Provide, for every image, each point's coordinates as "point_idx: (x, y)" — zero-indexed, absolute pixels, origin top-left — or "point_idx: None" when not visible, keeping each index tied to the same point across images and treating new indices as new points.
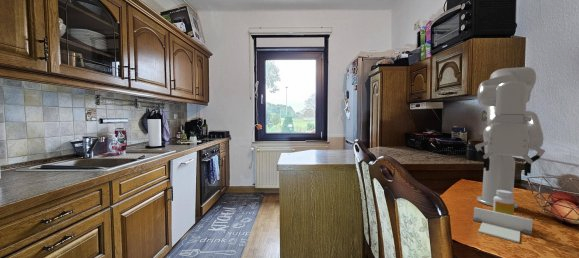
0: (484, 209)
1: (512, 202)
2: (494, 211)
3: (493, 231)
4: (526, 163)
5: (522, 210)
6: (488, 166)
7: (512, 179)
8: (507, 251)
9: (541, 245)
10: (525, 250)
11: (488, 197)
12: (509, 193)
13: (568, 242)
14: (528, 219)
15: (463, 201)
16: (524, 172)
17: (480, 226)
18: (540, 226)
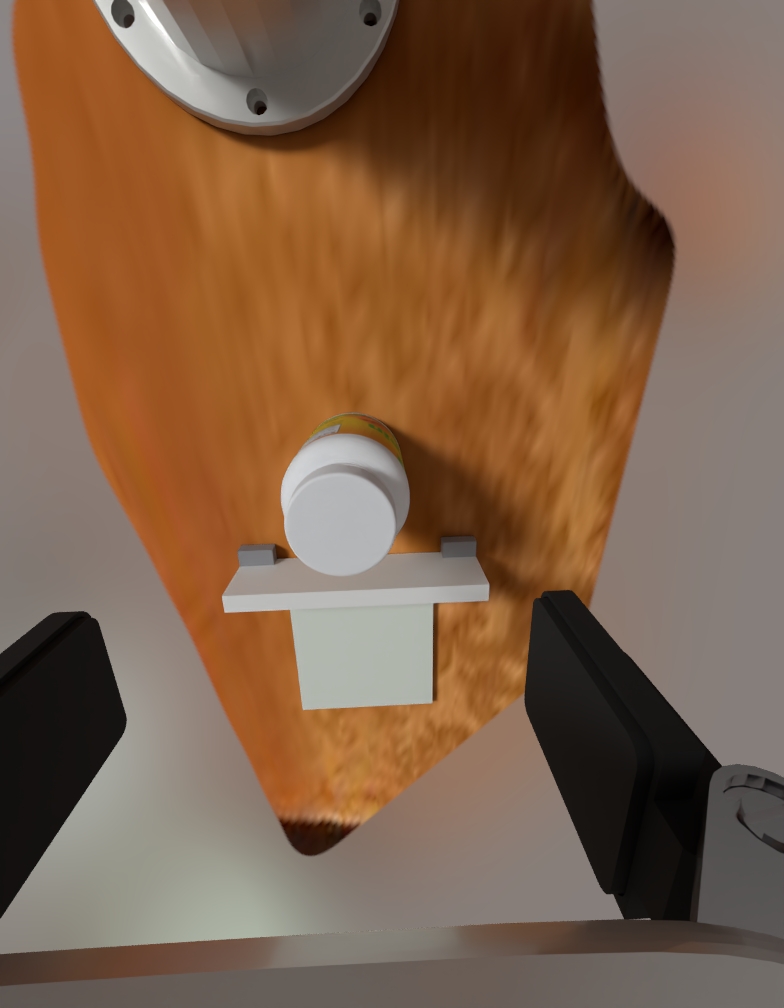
0: (273, 598)
1: (399, 528)
2: (322, 593)
3: (348, 676)
4: (628, 913)
5: (440, 27)
6: (86, 784)
7: None
8: (404, 783)
9: (494, 664)
10: (447, 741)
11: (176, 29)
12: (380, 561)
13: (588, 554)
14: (471, 600)
15: (43, 165)
16: (538, 740)
17: (297, 658)
18: (516, 404)
